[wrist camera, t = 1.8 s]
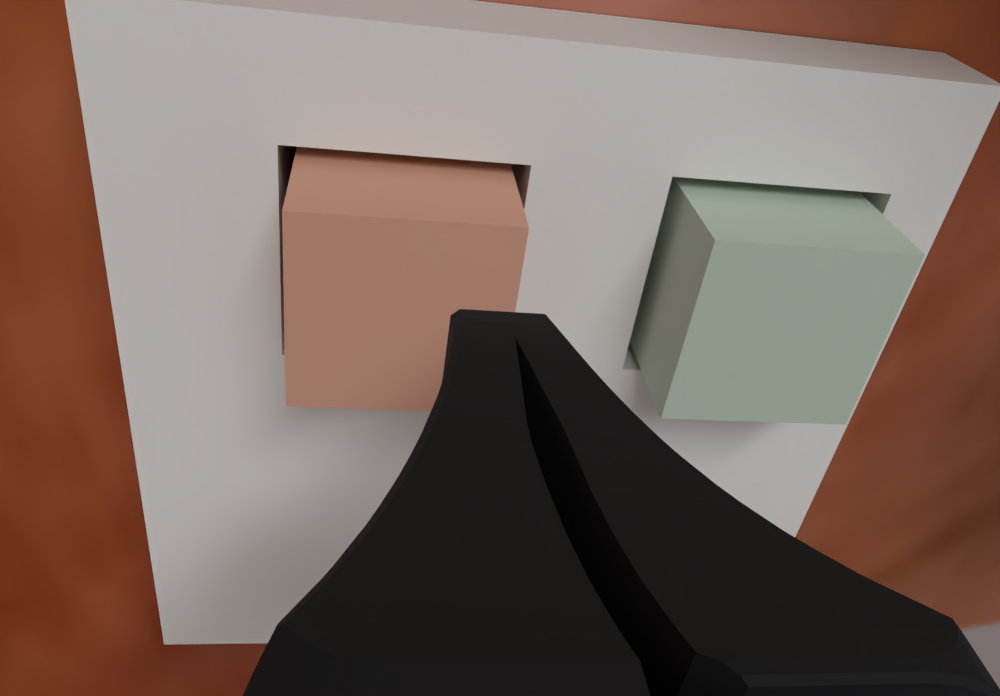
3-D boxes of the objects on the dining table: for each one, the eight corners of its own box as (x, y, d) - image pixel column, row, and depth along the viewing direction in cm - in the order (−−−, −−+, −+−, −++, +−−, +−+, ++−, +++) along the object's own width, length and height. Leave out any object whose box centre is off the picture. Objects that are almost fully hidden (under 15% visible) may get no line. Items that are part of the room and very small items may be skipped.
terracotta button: (509, 162, 18) (529, 227, 15) (485, 334, 20) (498, 413, 18) (297, 144, 17) (281, 210, 15) (298, 325, 20) (285, 406, 17)
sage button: (857, 190, 19) (925, 254, 17) (794, 348, 22) (845, 424, 19) (672, 175, 18) (715, 239, 16) (629, 341, 21) (660, 418, 19)
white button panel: (943, 52, 19) (1005, 86, 17) (724, 578, 29) (747, 637, 27) (102, -41, 16) (62, -13, 14) (180, 578, 26) (164, 644, 25)
